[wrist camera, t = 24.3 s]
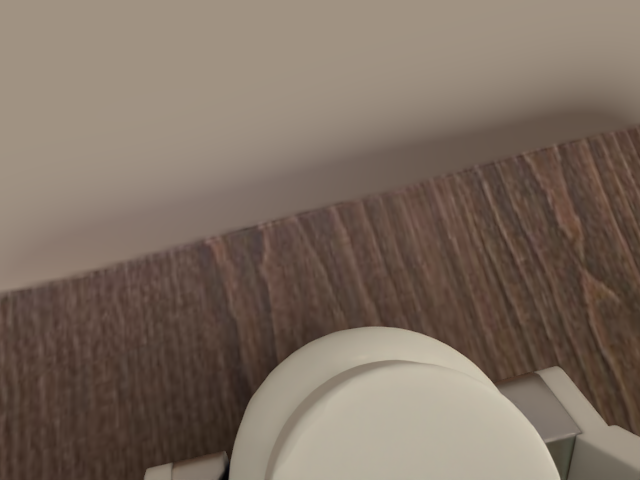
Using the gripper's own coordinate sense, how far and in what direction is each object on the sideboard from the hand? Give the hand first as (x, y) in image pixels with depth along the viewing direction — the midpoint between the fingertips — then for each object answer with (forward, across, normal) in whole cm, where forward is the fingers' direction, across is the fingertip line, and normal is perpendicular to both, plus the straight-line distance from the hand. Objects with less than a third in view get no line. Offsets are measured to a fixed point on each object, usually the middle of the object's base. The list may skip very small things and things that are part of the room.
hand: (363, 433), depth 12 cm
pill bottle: (+4, 0, -4) cm, 6 cm away
